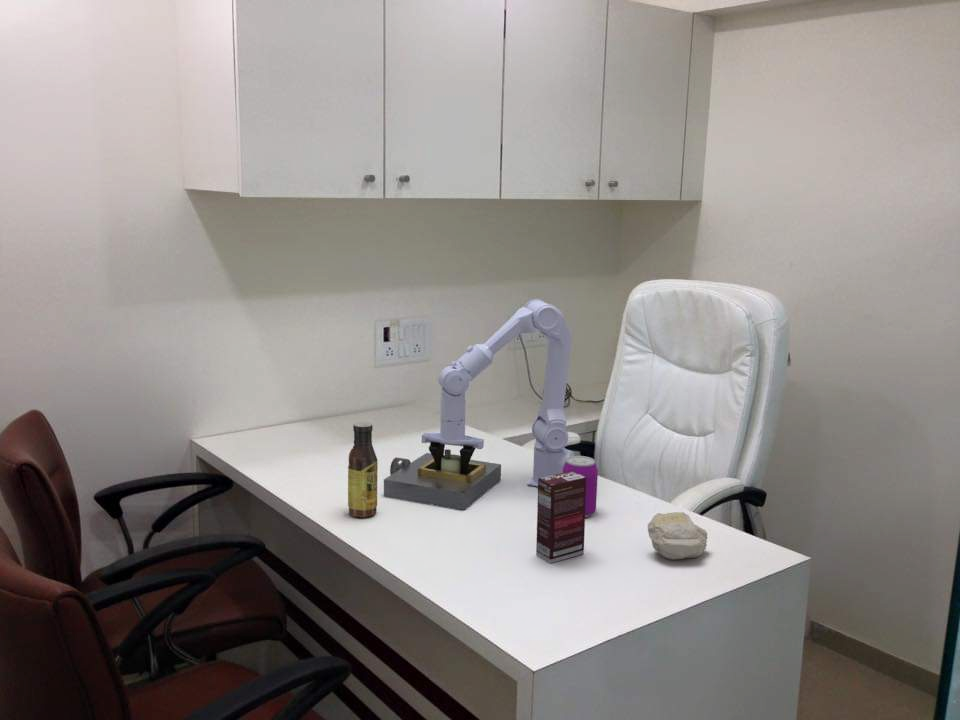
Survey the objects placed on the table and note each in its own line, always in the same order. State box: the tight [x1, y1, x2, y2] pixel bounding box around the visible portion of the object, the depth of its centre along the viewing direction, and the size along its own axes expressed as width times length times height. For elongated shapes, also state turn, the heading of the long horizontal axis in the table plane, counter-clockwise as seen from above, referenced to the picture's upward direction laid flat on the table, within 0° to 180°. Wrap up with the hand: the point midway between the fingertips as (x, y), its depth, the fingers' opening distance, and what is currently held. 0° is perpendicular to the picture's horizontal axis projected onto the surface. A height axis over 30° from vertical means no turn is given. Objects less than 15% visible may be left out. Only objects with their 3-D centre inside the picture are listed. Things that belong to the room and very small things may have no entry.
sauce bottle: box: [347, 421, 379, 519], centre depth 185 cm, size 6×6×20 cm
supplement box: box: [535, 471, 586, 564], centre depth 167 cm, size 9×5×16 cm, turn 123°
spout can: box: [441, 448, 461, 474], centre depth 202 cm, size 5×5×8 cm
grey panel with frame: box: [383, 452, 502, 511], centre depth 204 cm, size 23×22×6 cm
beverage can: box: [563, 455, 599, 518], centre depth 189 cm, size 8×8×12 cm
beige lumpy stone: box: [647, 511, 708, 561], centre depth 169 cm, size 12×8×10 cm
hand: (451, 474), depth 202 cm, fingers closed on spout can, 5 cm apart
